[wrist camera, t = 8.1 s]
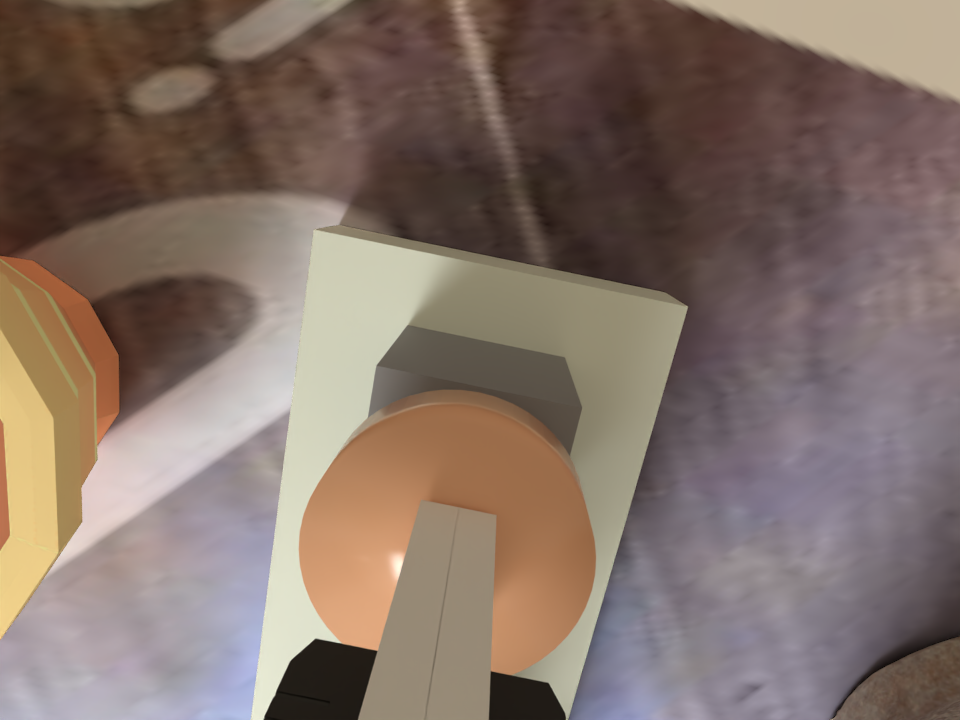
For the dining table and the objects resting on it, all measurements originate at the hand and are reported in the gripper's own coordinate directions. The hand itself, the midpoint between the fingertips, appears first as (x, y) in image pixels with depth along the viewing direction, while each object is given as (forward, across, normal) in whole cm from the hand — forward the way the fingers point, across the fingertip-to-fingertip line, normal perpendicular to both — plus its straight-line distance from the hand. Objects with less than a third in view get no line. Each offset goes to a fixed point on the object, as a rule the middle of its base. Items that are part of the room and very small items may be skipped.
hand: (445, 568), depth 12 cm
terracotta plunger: (+7, 0, 0) cm, 7 cm away
